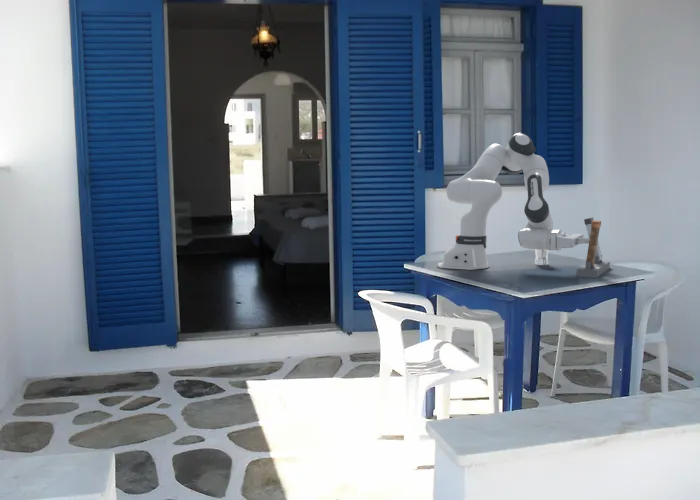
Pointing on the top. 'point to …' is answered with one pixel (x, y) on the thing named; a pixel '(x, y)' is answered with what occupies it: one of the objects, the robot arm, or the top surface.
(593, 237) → the walnut lever
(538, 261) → the beer glass
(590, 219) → the metal lever
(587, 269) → the plinth
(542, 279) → the top surface
